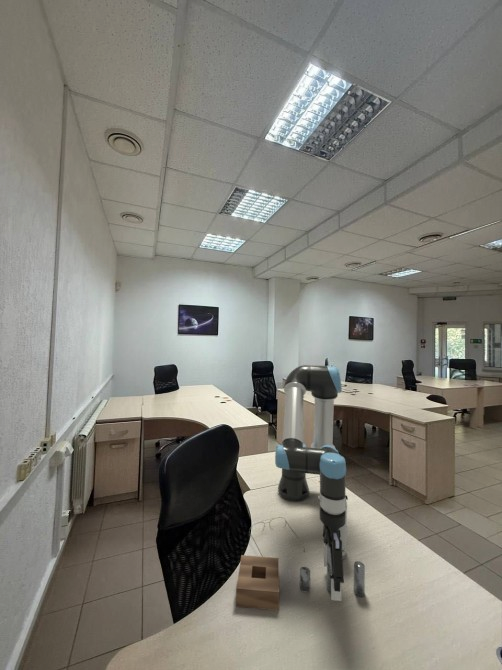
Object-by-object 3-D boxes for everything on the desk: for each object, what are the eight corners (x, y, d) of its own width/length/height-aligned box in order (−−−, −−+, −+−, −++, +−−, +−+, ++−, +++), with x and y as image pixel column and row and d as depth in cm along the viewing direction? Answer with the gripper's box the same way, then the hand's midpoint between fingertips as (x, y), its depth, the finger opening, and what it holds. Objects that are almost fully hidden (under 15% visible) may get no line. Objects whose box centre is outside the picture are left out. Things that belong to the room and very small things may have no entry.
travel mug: (348, 561, 94) (348, 502, 94) (328, 557, 95) (328, 499, 95) (346, 547, 100) (346, 492, 100) (327, 544, 101) (327, 489, 101)
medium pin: (352, 587, 84) (352, 560, 84) (362, 588, 84) (362, 561, 84) (355, 596, 81) (355, 568, 81) (366, 597, 81) (366, 569, 81)
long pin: (325, 584, 84) (326, 542, 85) (335, 585, 84) (336, 542, 84) (327, 593, 82) (328, 549, 82) (338, 594, 81) (338, 550, 81)
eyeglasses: (284, 526, 111) (284, 514, 111) (305, 553, 97) (305, 539, 98) (247, 537, 105) (247, 524, 105) (264, 567, 91) (264, 552, 91)
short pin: (299, 582, 85) (299, 566, 85) (309, 583, 85) (309, 567, 85) (300, 591, 82) (300, 574, 82) (310, 592, 82) (310, 575, 82)
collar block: (241, 570, 89) (241, 555, 89) (278, 573, 88) (278, 558, 88) (236, 606, 77) (236, 588, 77) (278, 610, 76) (279, 592, 76)
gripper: (314, 486, 95) (313, 550, 95) (327, 533, 72) (326, 619, 72) (336, 487, 95) (336, 552, 94) (356, 535, 71) (356, 622, 71)
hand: (331, 581), depth 83 cm, fingers open, 11 cm apart
